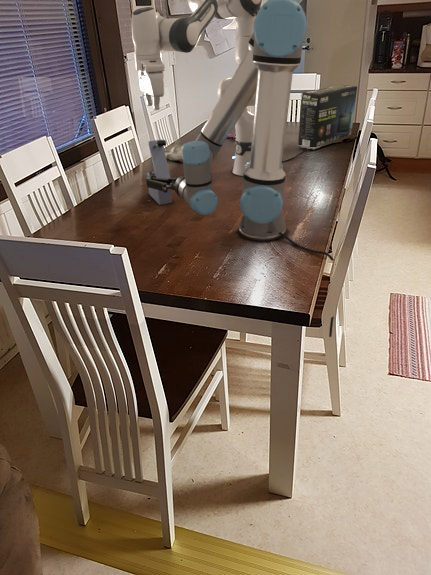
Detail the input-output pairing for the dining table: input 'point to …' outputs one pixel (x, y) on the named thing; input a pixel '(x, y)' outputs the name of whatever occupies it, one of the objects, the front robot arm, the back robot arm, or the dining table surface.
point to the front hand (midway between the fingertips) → (169, 172)
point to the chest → (160, 194)
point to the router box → (326, 115)
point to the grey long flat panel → (159, 158)
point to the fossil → (175, 153)
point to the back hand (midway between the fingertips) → (153, 107)
